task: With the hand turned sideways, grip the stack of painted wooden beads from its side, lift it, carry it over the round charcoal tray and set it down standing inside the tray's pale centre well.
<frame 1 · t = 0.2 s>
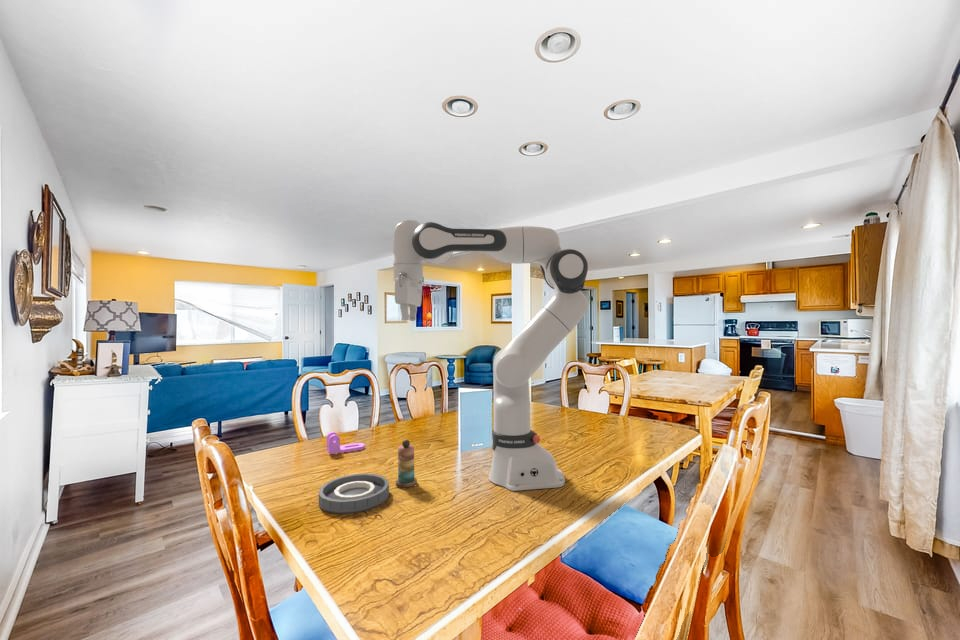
hand: (409, 320, 120), 48 cm above the table, tool pointing down, fingers open, 8 cm apart
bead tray: (354, 497, 106), on the table
bead stack: (406, 484, 115), on the table
bracket: (346, 451, 146), on the table
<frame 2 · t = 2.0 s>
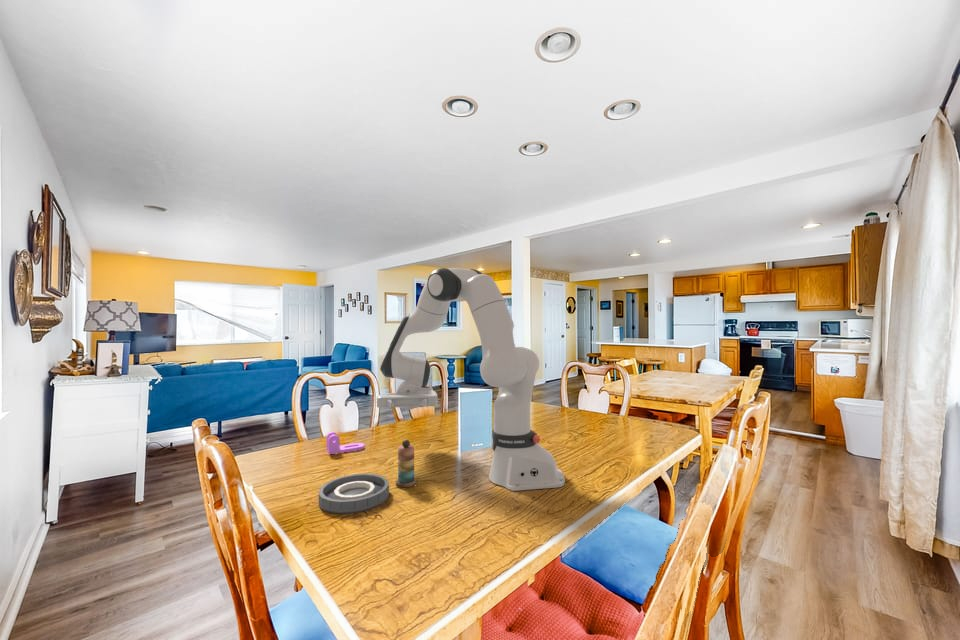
hand: (407, 405, 127), 20 cm above the table, tool horizontal, fingers open, 8 cm apart
nothing on the table moved.
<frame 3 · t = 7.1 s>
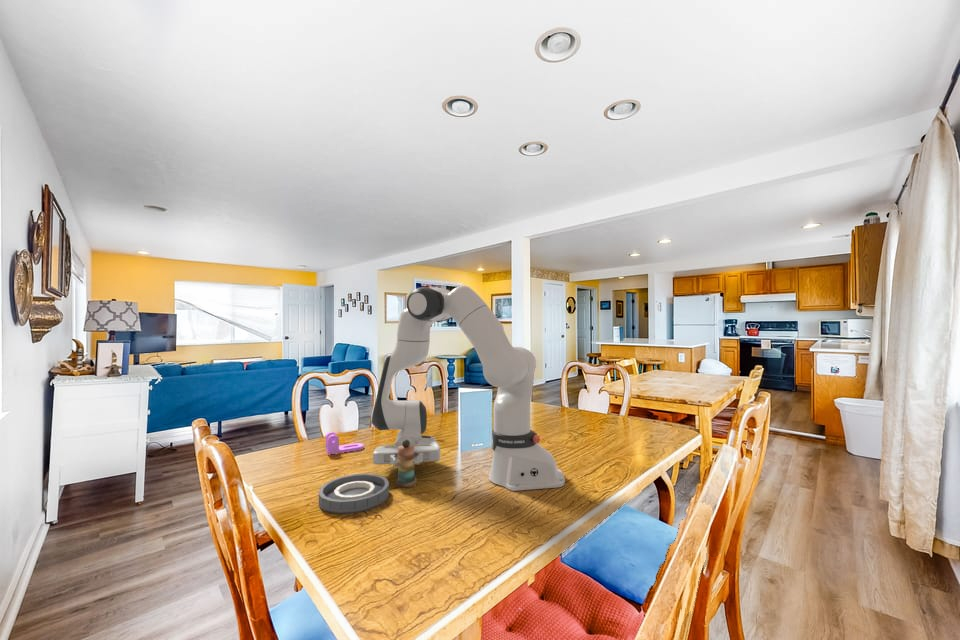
hand: (406, 462, 114), 7 cm above the table, tool horizontal, fingers closed on bead stack, 5 cm apart
bead stack: (406, 484, 115), on the table, touching gripper
everything else where it was.
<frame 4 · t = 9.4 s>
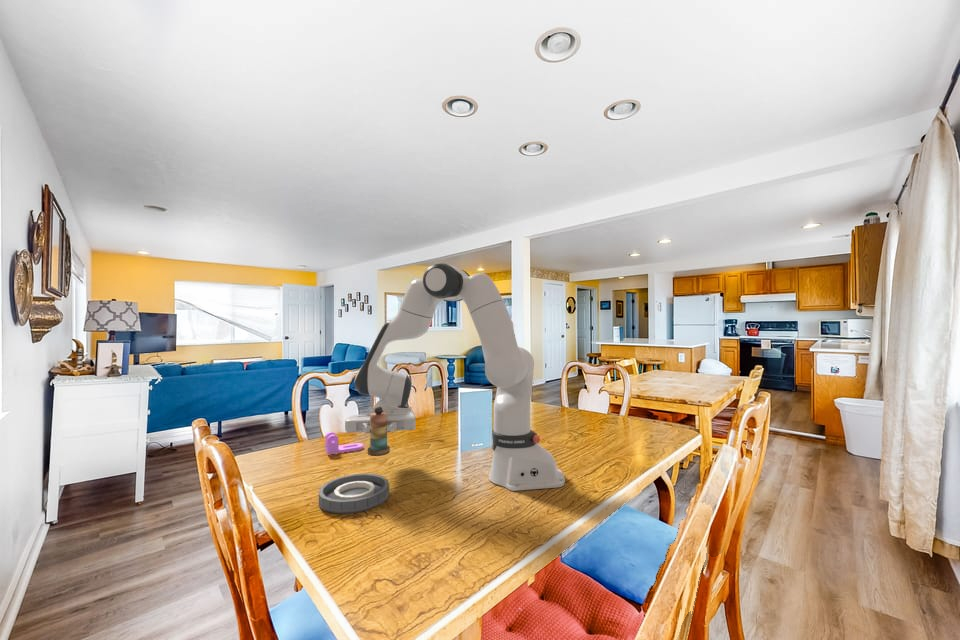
hand: (378, 430, 110), 17 cm above the table, tool horizontal, fingers closed on bead stack, 5 cm apart
bead stack: (378, 452, 111), point 11 cm above the table, touching gripper
everything else where it was.
when the fingers open (9 cm above the table, at t = 12.2 s): bead stack drops 2 cm, resting on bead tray.
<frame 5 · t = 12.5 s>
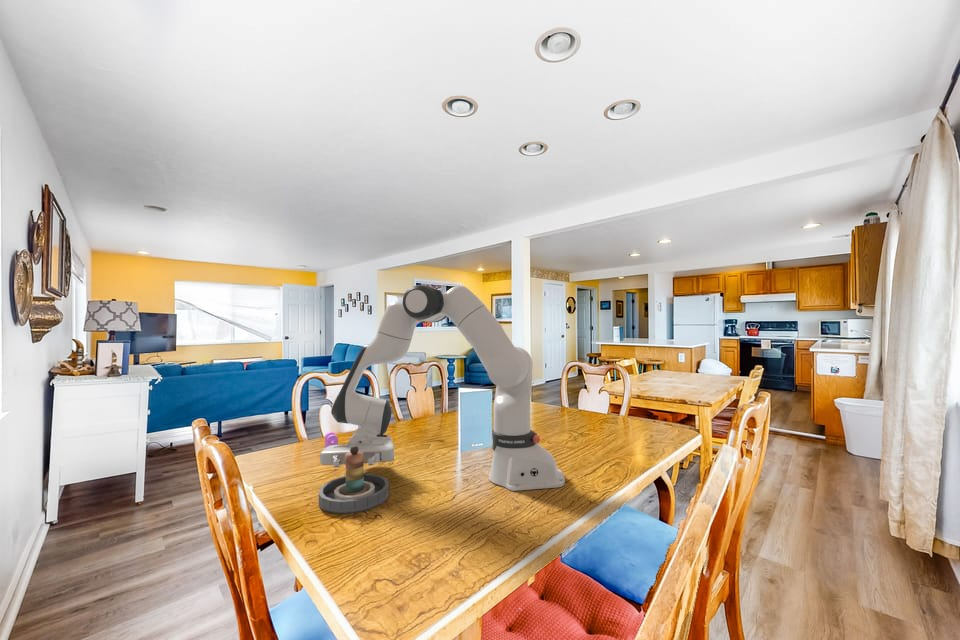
hand: (353, 463, 105), 9 cm above the table, tool horizontal, fingers open, 8 cm apart
bead stack: (354, 493, 106), point 1 cm above the table, touching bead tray
everything else where it was.
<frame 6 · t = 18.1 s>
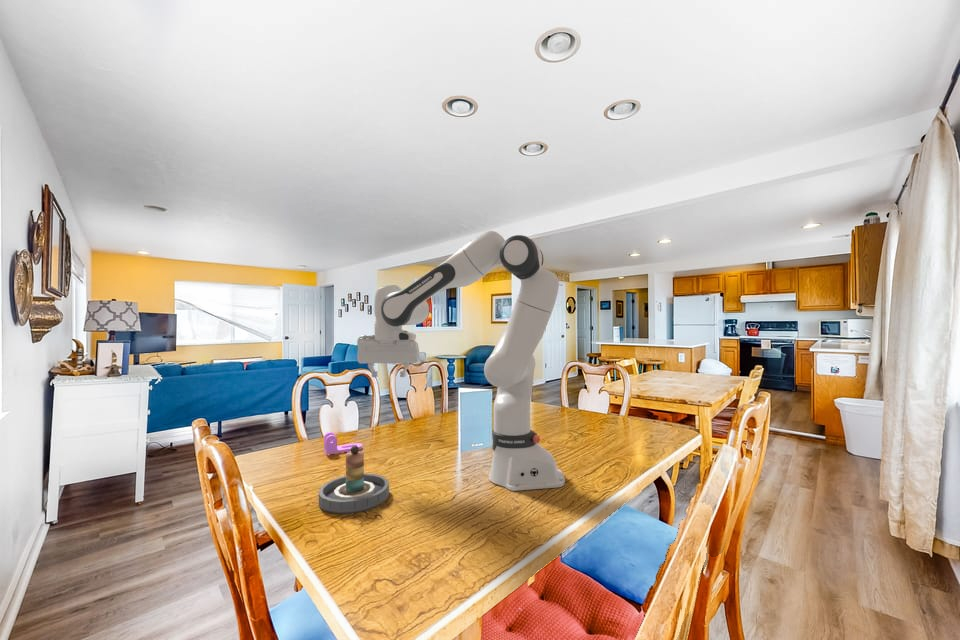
hand: (388, 376, 130), 29 cm above the table, tool pointing down, fingers open, 8 cm apart
nothing on the table moved.
at the end: bead stack 0.1 cm off-centre on the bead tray, point 1.0 cm above the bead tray's base; bead stack tilted 0°; the gripper is holding nothing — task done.
